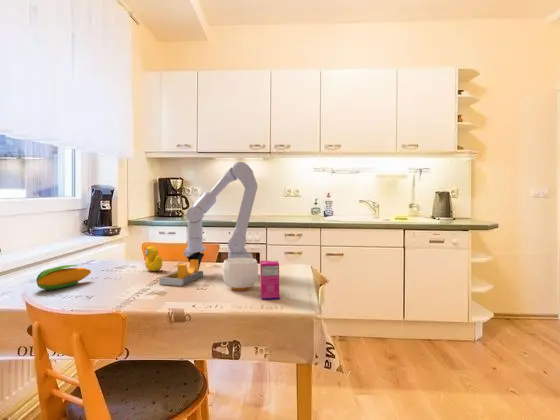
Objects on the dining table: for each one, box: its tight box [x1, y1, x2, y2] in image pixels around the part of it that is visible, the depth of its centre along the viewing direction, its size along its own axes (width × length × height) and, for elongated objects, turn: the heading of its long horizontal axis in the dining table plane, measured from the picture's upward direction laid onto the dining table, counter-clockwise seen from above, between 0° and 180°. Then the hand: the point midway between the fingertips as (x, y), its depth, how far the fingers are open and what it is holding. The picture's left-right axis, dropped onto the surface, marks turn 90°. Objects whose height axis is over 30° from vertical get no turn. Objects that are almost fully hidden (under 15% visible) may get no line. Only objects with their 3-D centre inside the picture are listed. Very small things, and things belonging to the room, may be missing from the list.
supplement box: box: [259, 259, 281, 301], centre depth 130 cm, size 6×6×12 cm
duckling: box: [144, 245, 163, 272], centre depth 170 cm, size 11×5×10 cm, turn 47°
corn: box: [35, 264, 92, 291], centre depth 144 cm, size 7×8×20 cm
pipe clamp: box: [177, 259, 200, 279], centre depth 155 cm, size 12×4×6 cm, turn 166°
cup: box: [221, 258, 259, 291], centre depth 142 cm, size 12×12×10 cm
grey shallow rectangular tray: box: [158, 269, 204, 287], centre depth 153 cm, size 11×15×2 cm
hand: (195, 271), depth 163 cm, fingers closed
